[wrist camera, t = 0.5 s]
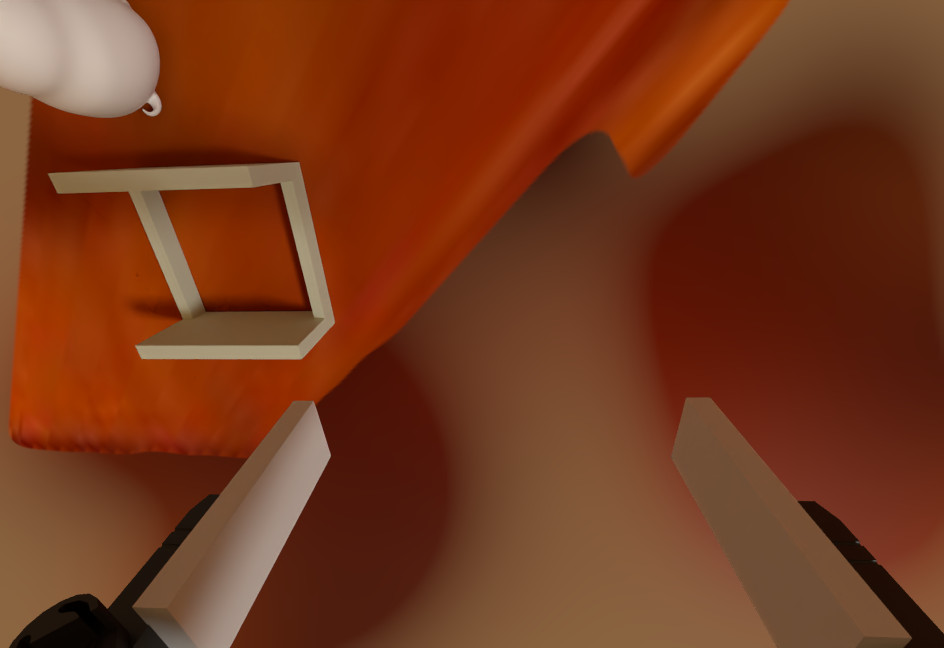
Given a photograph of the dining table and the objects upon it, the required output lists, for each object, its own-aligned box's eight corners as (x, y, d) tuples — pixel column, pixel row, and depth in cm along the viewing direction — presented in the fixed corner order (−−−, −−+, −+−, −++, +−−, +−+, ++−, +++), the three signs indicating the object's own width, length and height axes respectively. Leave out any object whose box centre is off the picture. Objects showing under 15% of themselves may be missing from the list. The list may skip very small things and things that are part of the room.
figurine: (209, 77, 32) (63, 41, 21) (148, 148, 35) (-7, 149, 24) (107, -46, 29) (-128, -161, 18) (49, 44, 31) (-183, -8, 21)
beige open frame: (138, 167, 36) (47, 173, 28) (299, 162, 34) (247, 166, 27) (200, 323, 43) (141, 358, 36) (335, 322, 42) (301, 359, 35)
